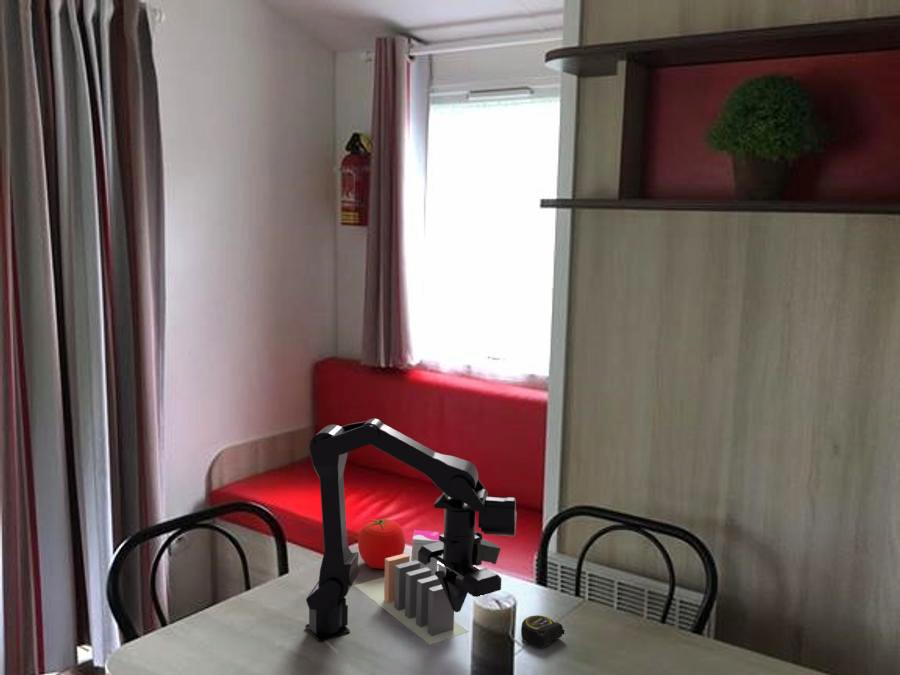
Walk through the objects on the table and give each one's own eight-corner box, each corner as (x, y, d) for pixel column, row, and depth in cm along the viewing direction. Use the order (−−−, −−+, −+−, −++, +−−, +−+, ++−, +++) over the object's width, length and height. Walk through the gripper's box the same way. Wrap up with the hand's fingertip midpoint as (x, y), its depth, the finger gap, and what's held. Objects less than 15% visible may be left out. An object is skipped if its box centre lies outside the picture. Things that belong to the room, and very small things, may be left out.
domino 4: (420, 627, 155) (421, 583, 154) (416, 624, 157) (417, 580, 155) (441, 620, 158) (442, 577, 157) (437, 617, 160) (438, 574, 158)
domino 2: (398, 610, 162) (399, 568, 160) (394, 607, 163) (395, 565, 162) (419, 604, 165) (420, 562, 163) (415, 601, 166) (416, 560, 165)
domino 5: (432, 636, 152) (433, 591, 151) (427, 632, 153) (428, 588, 152) (453, 629, 155) (454, 585, 154) (448, 625, 156) (450, 582, 155)
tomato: (414, 566, 183) (415, 521, 182) (377, 579, 176) (378, 532, 174) (385, 552, 191) (386, 508, 189) (349, 564, 184) (349, 518, 182)
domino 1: (388, 602, 165) (389, 561, 164) (384, 599, 166) (384, 558, 165) (408, 596, 168) (409, 555, 167) (404, 593, 169) (405, 553, 168)
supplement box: (436, 592, 170) (439, 540, 169) (408, 591, 170) (410, 539, 169) (437, 581, 176) (439, 530, 175) (410, 579, 176) (412, 529, 175)
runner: (429, 645, 149) (430, 644, 149) (354, 586, 172) (354, 585, 172) (468, 632, 154) (468, 631, 154) (389, 576, 178) (389, 575, 178)
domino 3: (409, 618, 159) (410, 575, 157) (404, 615, 160) (405, 572, 159) (430, 612, 161) (431, 569, 160) (425, 609, 163) (426, 567, 161)
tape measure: (541, 654, 148) (542, 635, 147) (513, 640, 152) (514, 621, 152) (564, 641, 152) (565, 623, 152) (536, 628, 157) (537, 610, 157)
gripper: (526, 539, 144) (522, 620, 146) (464, 507, 159) (462, 582, 161) (477, 552, 138) (473, 637, 140) (417, 518, 153) (415, 595, 155)
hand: (456, 611), depth 149 cm, fingers closed
